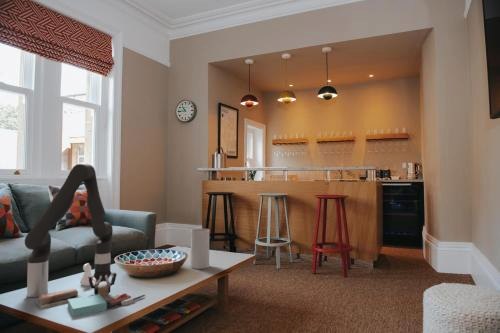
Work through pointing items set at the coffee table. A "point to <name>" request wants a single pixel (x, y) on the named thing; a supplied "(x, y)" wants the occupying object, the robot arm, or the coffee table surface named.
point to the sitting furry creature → (87, 275)
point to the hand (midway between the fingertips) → (102, 294)
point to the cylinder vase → (199, 248)
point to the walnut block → (103, 290)
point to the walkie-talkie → (120, 300)
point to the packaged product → (57, 298)
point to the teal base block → (86, 305)
